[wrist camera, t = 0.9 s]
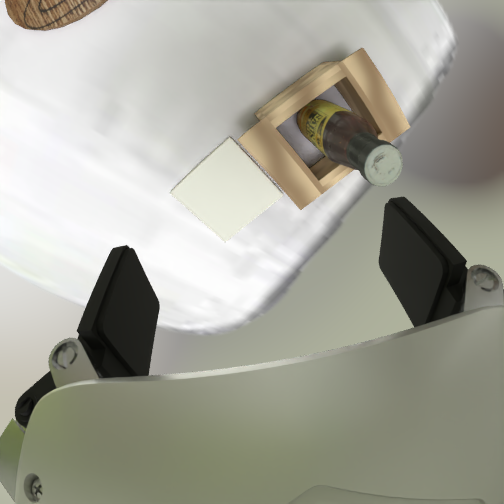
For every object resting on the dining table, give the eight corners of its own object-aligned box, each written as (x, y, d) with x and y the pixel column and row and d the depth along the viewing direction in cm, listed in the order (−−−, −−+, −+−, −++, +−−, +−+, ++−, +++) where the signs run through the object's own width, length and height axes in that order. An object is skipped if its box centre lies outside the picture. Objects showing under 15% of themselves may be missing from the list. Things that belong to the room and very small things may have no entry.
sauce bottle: (290, 102, 36) (347, 128, 20) (332, 95, 36) (412, 120, 20) (299, 144, 40) (354, 202, 24) (338, 137, 40) (412, 189, 24)
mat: (229, 136, 39) (230, 137, 38) (282, 193, 44) (283, 195, 44) (171, 190, 42) (169, 193, 41) (225, 239, 48) (225, 242, 47)
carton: (341, 50, 32) (363, 47, 26) (385, 117, 38) (410, 127, 32) (235, 129, 38) (237, 140, 32) (289, 189, 44) (300, 210, 38)
